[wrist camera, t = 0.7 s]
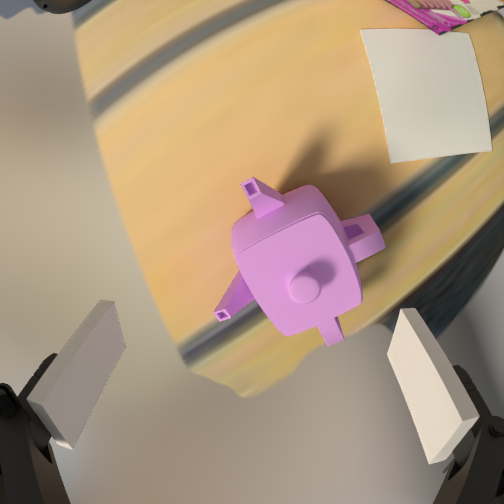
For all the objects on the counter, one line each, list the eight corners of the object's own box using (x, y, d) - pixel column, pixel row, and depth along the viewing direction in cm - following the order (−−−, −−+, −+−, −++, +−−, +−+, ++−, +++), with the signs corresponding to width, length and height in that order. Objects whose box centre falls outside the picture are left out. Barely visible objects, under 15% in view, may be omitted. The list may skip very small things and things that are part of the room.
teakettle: (331, 310, 45) (347, 367, 33) (218, 283, 44) (202, 336, 32) (374, 201, 38) (413, 233, 27) (248, 163, 37) (239, 179, 26)
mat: (359, 30, 29) (360, 29, 29) (467, 34, 27) (468, 33, 27) (390, 163, 36) (391, 163, 36) (490, 150, 33) (492, 150, 33)
